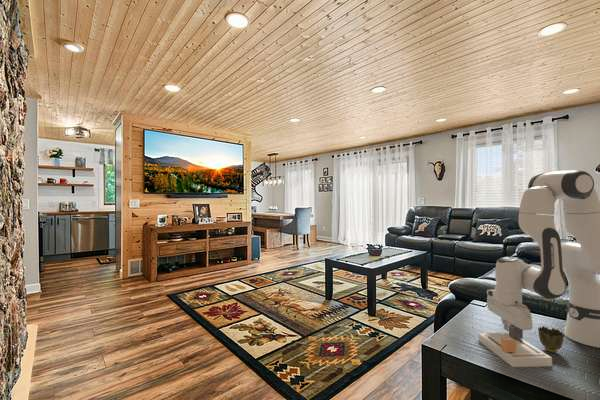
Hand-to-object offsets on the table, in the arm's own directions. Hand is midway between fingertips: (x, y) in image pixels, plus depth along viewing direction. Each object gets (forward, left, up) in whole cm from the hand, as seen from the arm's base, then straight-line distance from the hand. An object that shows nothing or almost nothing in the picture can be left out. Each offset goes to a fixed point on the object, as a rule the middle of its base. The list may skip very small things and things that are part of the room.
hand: (508, 330), depth 116 cm
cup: (-10, +8, -4) cm, 14 cm away
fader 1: (+10, +13, -1) cm, 16 cm away
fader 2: (0, +4, -1) cm, 4 cm away
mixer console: (+5, +8, -4) cm, 11 cm away
